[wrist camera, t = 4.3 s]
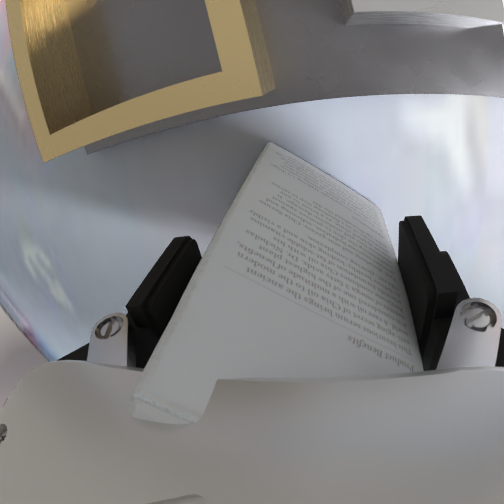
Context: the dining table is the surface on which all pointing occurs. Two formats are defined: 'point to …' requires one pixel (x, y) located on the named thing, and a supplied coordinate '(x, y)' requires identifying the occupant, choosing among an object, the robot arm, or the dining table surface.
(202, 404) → the skincare box
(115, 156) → the dining table surface
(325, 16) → the plate
